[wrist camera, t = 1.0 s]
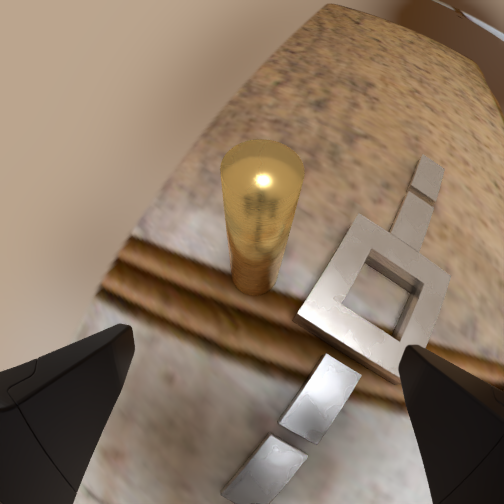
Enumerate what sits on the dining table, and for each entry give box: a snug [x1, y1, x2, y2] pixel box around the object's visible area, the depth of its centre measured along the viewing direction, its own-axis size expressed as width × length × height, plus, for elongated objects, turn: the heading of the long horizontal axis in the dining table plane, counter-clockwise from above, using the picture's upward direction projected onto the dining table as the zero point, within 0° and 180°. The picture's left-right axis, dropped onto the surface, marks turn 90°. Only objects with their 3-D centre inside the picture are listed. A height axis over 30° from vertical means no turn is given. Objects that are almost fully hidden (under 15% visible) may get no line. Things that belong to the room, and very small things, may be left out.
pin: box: [220, 139, 304, 296], centre depth 18 cm, size 4×4×12 cm
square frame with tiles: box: [221, 154, 451, 504], centre depth 22 cm, size 38×10×2 cm, turn 145°
